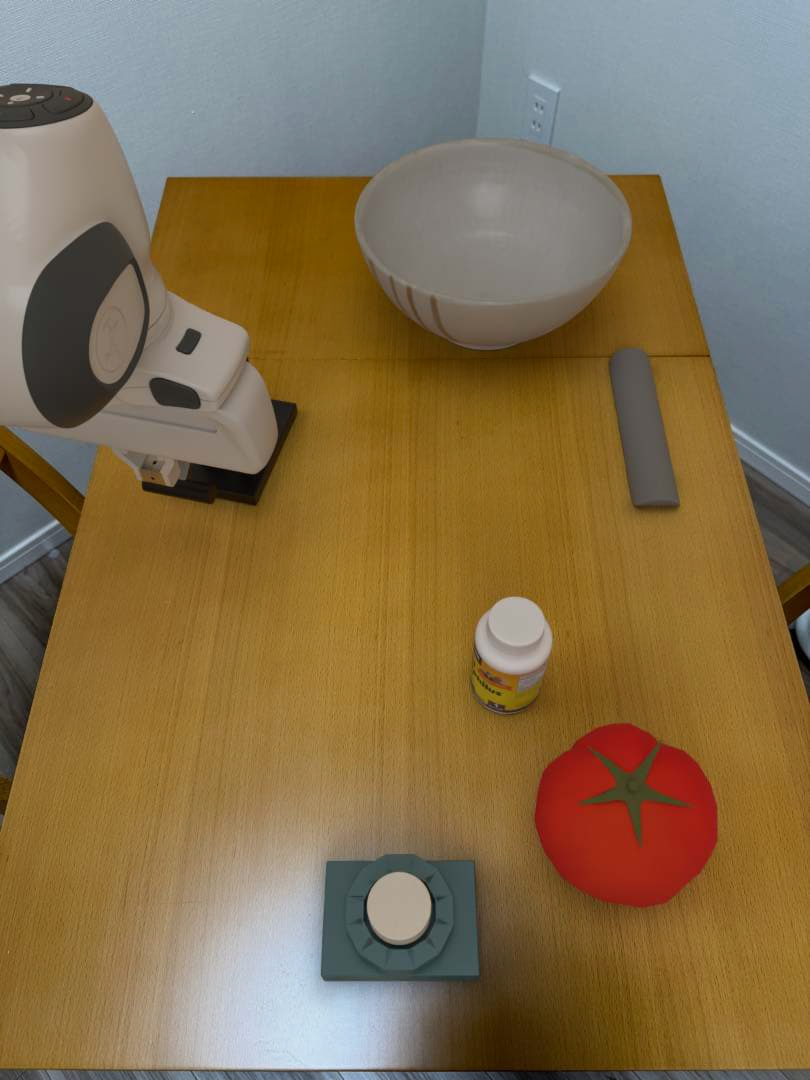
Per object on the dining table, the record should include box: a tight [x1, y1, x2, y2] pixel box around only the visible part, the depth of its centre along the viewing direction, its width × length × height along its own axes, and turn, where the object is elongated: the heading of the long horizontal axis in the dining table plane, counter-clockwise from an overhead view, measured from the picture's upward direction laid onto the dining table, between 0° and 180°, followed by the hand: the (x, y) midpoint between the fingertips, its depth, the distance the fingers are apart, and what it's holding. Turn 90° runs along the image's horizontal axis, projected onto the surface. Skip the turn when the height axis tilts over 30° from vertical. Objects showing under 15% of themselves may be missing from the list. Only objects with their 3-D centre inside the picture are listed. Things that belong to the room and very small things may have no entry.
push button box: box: [320, 853, 481, 982], centre depth 56 cm, size 10×7×4 cm
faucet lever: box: [141, 460, 217, 505], centre depth 72 cm, size 13×6×2 cm, turn 166°
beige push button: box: [367, 872, 431, 945], centre depth 54 cm, size 4×4×2 cm
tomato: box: [533, 722, 719, 909], centre depth 56 cm, size 12×12×10 cm
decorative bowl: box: [353, 137, 633, 351], centre depth 88 cm, size 27×27×12 cm
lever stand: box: [177, 355, 298, 506], centre depth 77 cm, size 12×9×13 cm
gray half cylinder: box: [608, 347, 681, 507], centre depth 82 cm, size 4×20×2 cm, turn 179°
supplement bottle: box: [469, 596, 553, 715], centre depth 63 cm, size 6×6×10 cm
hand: (160, 477), depth 67 cm, fingers closed
